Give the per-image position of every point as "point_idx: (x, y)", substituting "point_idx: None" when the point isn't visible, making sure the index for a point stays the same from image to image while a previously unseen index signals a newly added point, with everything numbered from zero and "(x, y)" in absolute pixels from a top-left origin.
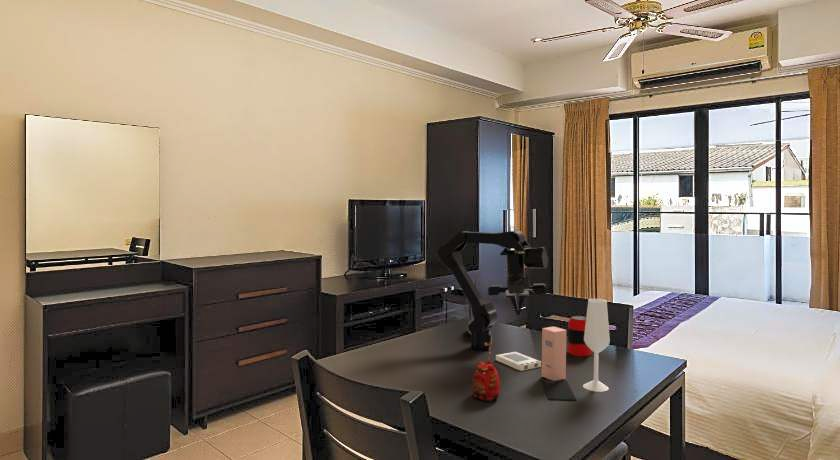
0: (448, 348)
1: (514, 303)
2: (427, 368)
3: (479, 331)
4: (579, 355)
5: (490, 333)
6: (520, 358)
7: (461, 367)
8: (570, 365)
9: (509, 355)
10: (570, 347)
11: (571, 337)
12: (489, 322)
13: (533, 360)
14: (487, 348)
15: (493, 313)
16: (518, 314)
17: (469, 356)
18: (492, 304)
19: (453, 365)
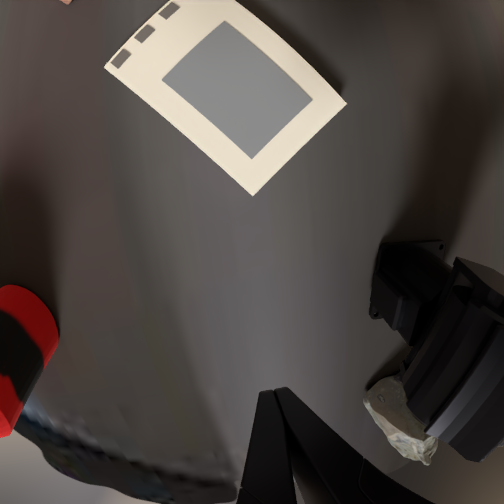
0: (493, 229)
1: (367, 490)
2: (499, 12)
3: (468, 261)
4: (11, 285)
5: (368, 403)
6: (210, 72)
7: (434, 7)
8: (12, 153)
9: (277, 107)
10: (28, 312)
11: (3, 335)
12: (462, 300)
13: (140, 69)
14: (386, 254)
15: (448, 396)
16: (274, 394)
17: (440, 141)
18: (462, 454)
19: (460, 29)
